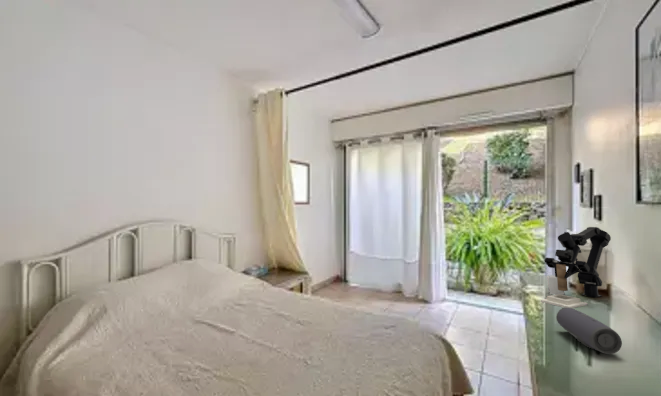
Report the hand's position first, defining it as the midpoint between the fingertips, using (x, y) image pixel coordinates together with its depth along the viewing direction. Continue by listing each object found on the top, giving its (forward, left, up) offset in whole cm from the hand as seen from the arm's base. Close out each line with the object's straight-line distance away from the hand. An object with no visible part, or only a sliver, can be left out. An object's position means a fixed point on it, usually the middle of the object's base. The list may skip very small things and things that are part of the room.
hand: (560, 277), depth 157 cm
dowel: (-1, 0, -7) cm, 7 cm away
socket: (-1, 0, -13) cm, 13 cm away
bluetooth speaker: (+42, +34, -14) cm, 55 cm away
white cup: (-15, -12, -14) cm, 24 cm away
